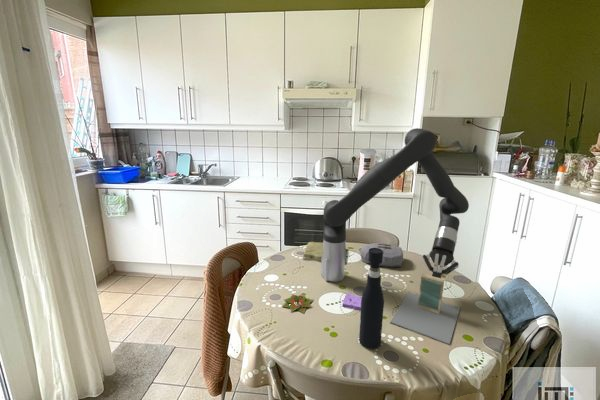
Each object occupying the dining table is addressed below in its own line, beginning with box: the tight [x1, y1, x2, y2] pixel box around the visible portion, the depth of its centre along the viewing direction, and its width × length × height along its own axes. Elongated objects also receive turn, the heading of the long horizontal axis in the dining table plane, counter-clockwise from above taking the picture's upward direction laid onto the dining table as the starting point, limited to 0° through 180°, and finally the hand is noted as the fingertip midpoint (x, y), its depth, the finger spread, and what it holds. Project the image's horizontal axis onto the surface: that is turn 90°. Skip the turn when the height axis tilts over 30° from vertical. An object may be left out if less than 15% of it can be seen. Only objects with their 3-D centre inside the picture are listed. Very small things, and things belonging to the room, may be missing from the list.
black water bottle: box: [358, 248, 385, 350], centre depth 88 cm, size 6×6×30 cm
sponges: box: [342, 293, 362, 311], centre depth 110 cm, size 7×13×2 cm, turn 70°
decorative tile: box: [302, 241, 347, 263], centre depth 151 cm, size 19×20×4 cm
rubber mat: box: [389, 291, 461, 346], centre depth 104 cm, size 22×18×1 cm
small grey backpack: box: [359, 242, 404, 268], centre depth 143 cm, size 15×8×20 cm
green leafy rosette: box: [281, 291, 314, 314], centre depth 110 cm, size 12×12×5 cm
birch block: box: [418, 273, 445, 314], centre depth 105 cm, size 3×7×12 cm, turn 55°
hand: (435, 282), depth 110 cm, fingers closed
